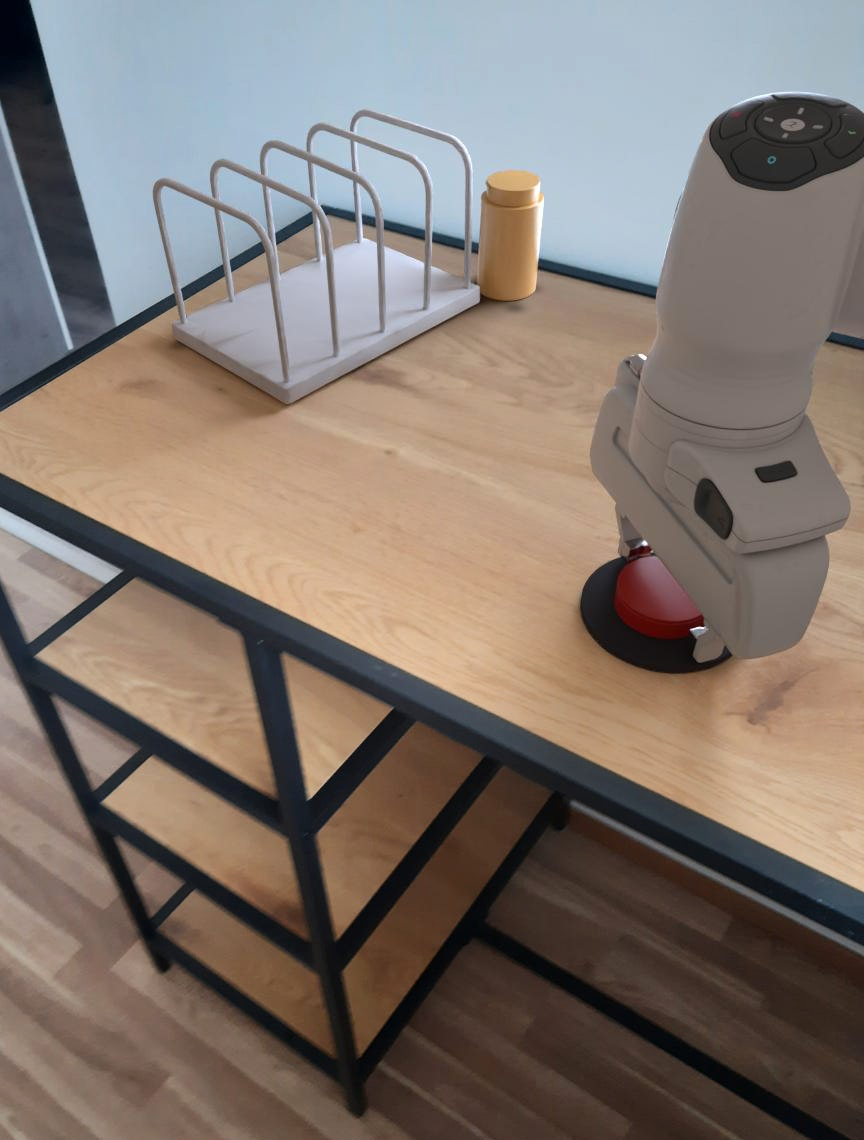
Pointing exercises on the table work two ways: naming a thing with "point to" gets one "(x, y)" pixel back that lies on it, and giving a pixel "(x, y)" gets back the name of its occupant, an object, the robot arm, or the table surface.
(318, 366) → the file sorter
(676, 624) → the lid
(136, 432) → the table surface
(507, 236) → the jar
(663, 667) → the black coaster
